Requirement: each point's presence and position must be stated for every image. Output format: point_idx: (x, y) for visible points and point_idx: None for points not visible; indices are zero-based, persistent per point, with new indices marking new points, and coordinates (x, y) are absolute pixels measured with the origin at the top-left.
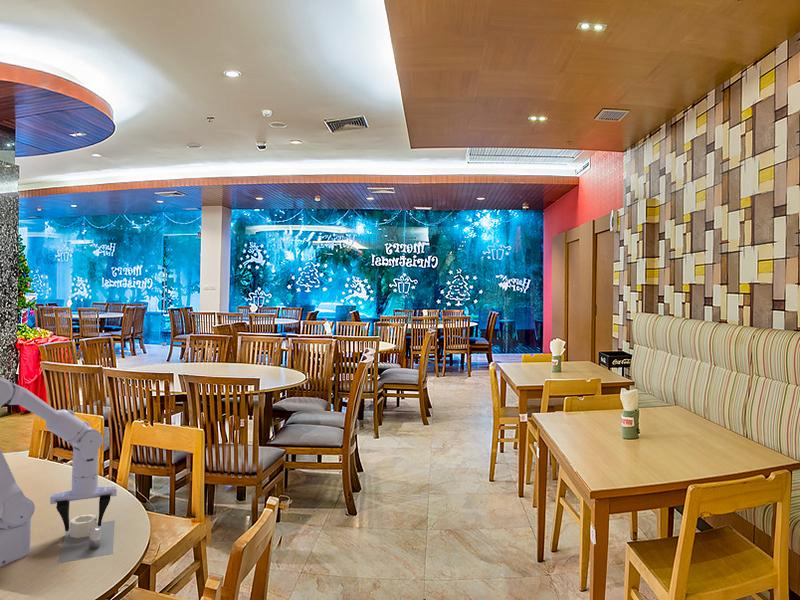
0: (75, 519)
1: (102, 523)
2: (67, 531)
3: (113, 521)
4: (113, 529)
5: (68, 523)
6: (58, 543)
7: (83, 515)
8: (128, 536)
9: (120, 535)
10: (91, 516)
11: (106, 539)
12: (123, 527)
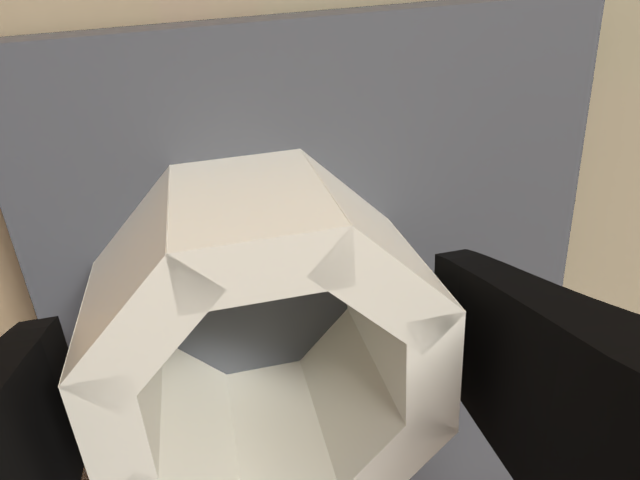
0: (139, 390)
1: (455, 53)
2: (26, 213)
3: (586, 27)
4: (556, 277)
5: (61, 475)
6: (3, 330)
7: (246, 261)
8: (629, 308)
9: (576, 274)
10: (389, 329)
11: (482, 468)
12: (632, 82)
